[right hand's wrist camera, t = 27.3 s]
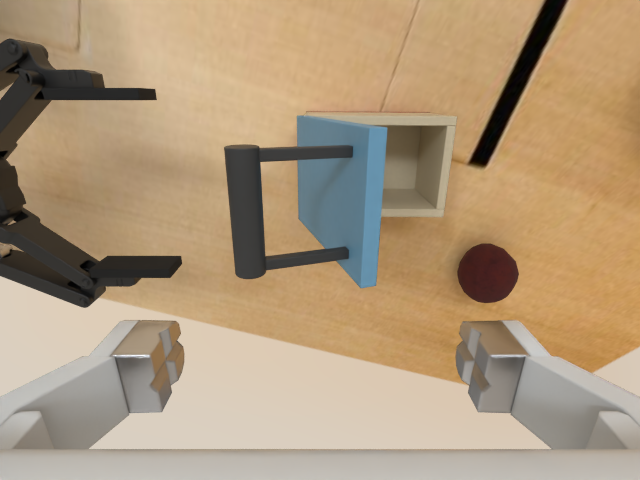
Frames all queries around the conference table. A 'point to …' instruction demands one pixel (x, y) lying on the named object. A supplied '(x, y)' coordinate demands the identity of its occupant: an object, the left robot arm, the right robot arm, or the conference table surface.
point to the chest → (411, 159)
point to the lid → (314, 197)
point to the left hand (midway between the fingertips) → (163, 188)
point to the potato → (487, 273)
